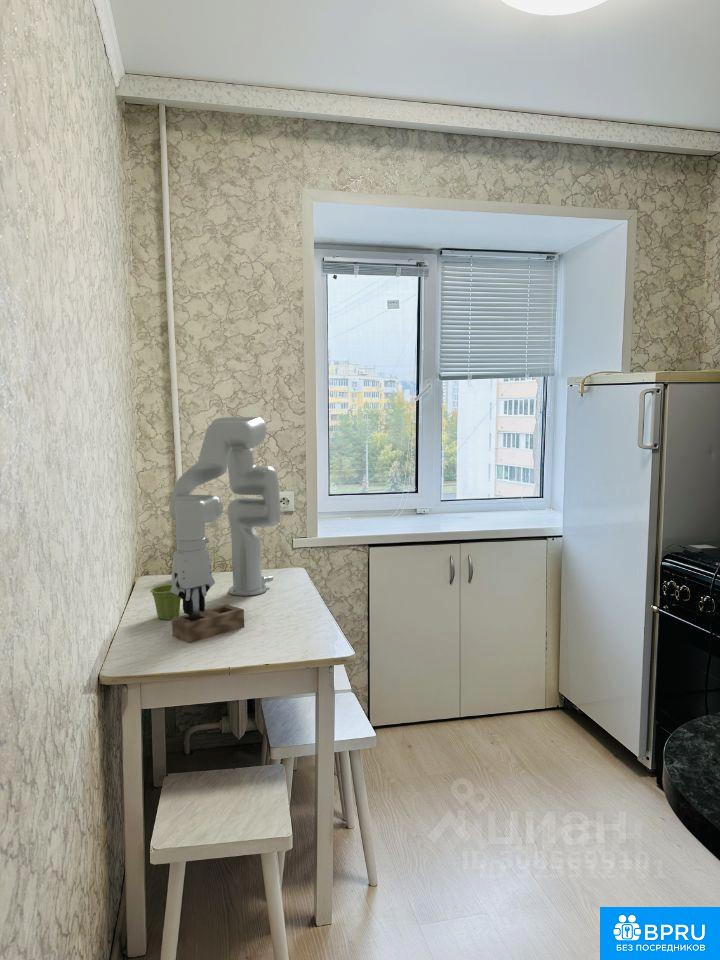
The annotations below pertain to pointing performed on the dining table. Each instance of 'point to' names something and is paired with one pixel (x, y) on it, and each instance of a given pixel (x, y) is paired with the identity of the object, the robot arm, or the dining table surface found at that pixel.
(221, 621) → the socket block
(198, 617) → the pin
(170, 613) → the plant pot
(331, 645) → the dining table surface
